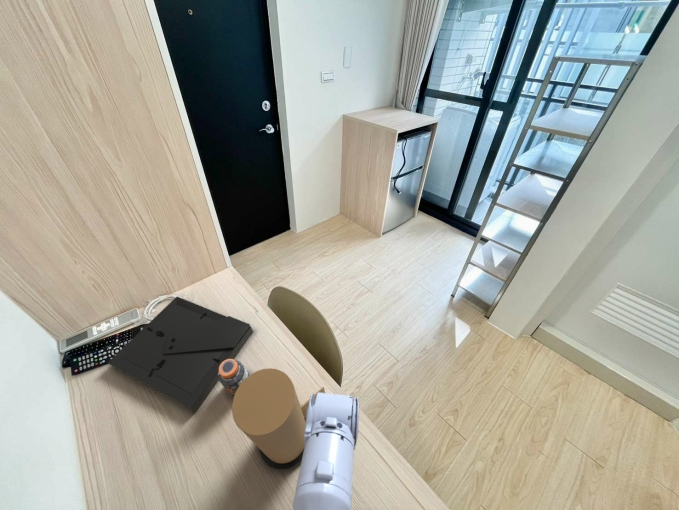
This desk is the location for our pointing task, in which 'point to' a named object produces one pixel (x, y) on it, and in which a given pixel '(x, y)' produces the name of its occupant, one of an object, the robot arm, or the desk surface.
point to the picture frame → (183, 351)
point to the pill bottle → (232, 375)
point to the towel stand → (282, 465)
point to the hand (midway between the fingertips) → (335, 454)
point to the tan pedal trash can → (271, 414)
